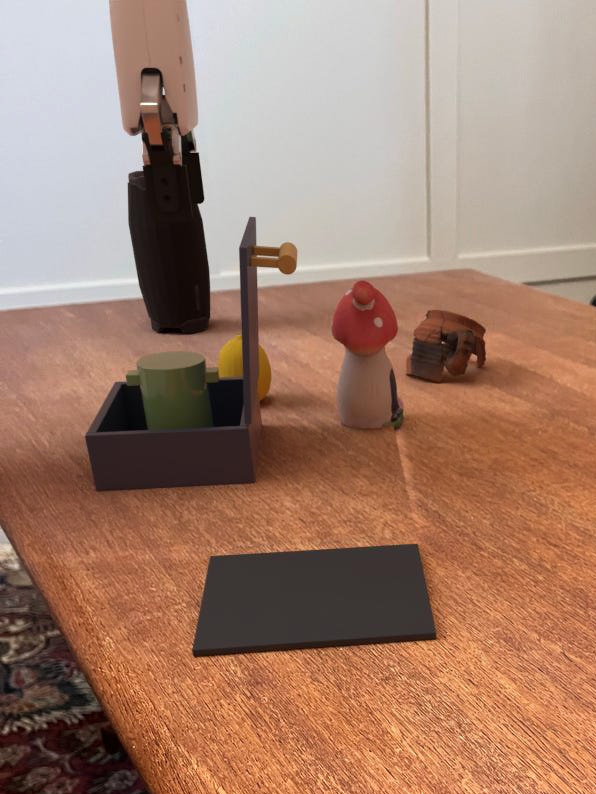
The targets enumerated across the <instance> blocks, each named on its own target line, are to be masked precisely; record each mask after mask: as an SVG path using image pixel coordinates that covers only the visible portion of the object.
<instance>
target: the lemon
mask: <svg viewBox="0 0 596 794" xmlns="http://www.w3.org/2000/svg"><path fill="white" fill-rule="evenodd" d="M217 367H218V369H219V376H220V377H219V378H226V377H243V360H242V333H240V334H236V336H235V337H234V338H232V339H230V340H228V341H227V342H226V343H225V344H224V345H223V346H222V348H221V349H220V351H219V353H218V359H217ZM271 383H272V367H271V364H270V360H269V358H268V355H267V352H266V351H265V349H264V348H263V347H262V346H261V344H259V378H258V393H259V401H260V402H261V401H262V400H264V398H265V397H266V396H267V395H268V393H269V391H270V389H271Z"/></svg>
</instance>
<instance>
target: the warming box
mask: <svg viewBox="0 0 596 794" xmlns="http://www.w3.org/2000/svg"><path fill="white" fill-rule="evenodd" d="M209 390H210V397H211V405H212V412H213V419H214V426H215V427H206V428H184V429H162V430H148V429H147V424H146V418H145V412H144V406H143V401H142V395H141V389H140V386H127V381H115V382H114V383H113V385H112V386H111V389H110V390H109V392H108V394H107V396H106V398H105V399H104V401H103V403H102V404H101V406H100V408H99V410H98V411H97V414H96V415H95V416H94V419H93V420H92V422H91V424H90V425H89V428H88V430H87V431H86V433H85V435H84V440H85V444H86V450H87V453H88V459H89V463H90V464H89V465H90V468H91V473H92V477H93V478H92V479H93V482H94V488H95V491H96V492H113V491H114V492H115V491H132V490H133V491H134V490H135V491H136V490H153V489H169V488H170V489H172V488H173V489H175V488H191V487H208V486H209V487H211V486H227V485H228V486H230V485H248V484H249V485H251V484H256V478H257V471H258V470H257V469H258V462H259V454H260V453H259V452H260V446H261V437H262V429H263V420H262V419H263V418H262V411H261V404H260V402H261V401H259V393H258V384H257V391H256V397H255V404H254V411H253V417H252V424H245V423H244V393H243V377H226V378H219V381H218V383H209Z"/></svg>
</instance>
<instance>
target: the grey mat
mask: <svg viewBox="0 0 596 794" xmlns="http://www.w3.org/2000/svg"><path fill="white" fill-rule="evenodd" d="M426 582H427V581H426V577H425V572H424V568H423V563H422V558H421V553H420V548H419V545H418V543H404V544H401V543H400V544H386V545H371V546H354V547H353V546H352V547H338V548H337V547H335V548H321V549H320V548H318V549H305V550H304V549H303V550H288V551H287V550H286V551H273V552H272V551H271V552H270V551H269V552H255V553H240V554H239V553H238V554H237V553H236V554H222V555H221V554H220V555H210V556H209V560H208V567H207V572H206V577H205V582H204V587H203V592H202V597H201V602H200V608H199V613H198V617H197V618H198V619H197V623H196V628H195V633H194V639H193V643H192V648H191V649H192V650H191V651H192V656H193V657H203V656H217V655H229V654H245V653H258V652H271V651H284V650H285V651H286V650H298V649H300V650H301V649H314V648H325V647H340V646H356V645H366V644H367V645H369V644H382V643H396V642H409V641H422V640H423V641H424V640H436V639H437V630H436V624H435V620H434V615H433V611H432V605H431V600H430V596H429V592H428V586H427V583H426Z"/></svg>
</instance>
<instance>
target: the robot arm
mask: <svg viewBox="0 0 596 794" xmlns="http://www.w3.org/2000/svg"><path fill="white" fill-rule="evenodd" d="M108 4H109V5H108V6H109V7H108V8H109V19H110V30H111V41H112V47H113V48H112V49H113V57H114V64H115V66H114V67H115V74H116V80H117V81H116V82H117V89H118V90H117V91H118V97H119V106H120V107H119V108H120V115H121V122H122V128H123V130H124V131H125V132H126V134H127V135H129V136H131V137H136V136H138V135H139V134H140V135H141V156H142V163H143V165H142V171H143V173H144V180H145V186H146V193H147V200H148V206H149V213H150V218H151V220H152V221H153V222H189V221H191V220H192V218H193V213H192V206H191V204H198V205H201V204H203V203H204V202H205V192H204V184H203V175H202V167H201V158H200V152H198V150H197V149H198V148H197V140H196V136H195V135H196V134H195V131H194V129H195V128H196V127H197V126H198V124H199V108H198V107H199V106H198V93H197V92H198V91H197V81H196V71H195V61H194V51H193V44H192V34H191V26H190V20H189V11H188V10H189V9H188V2H187V0H108ZM163 91H164V94H163Z"/></svg>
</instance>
